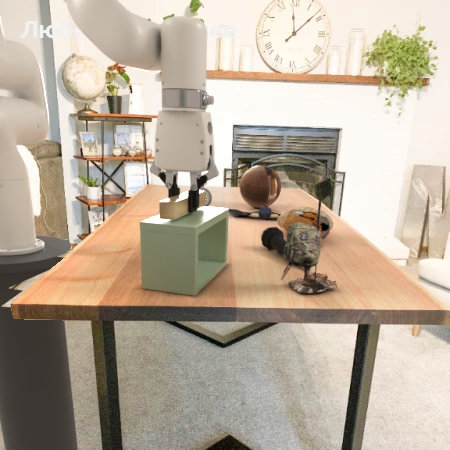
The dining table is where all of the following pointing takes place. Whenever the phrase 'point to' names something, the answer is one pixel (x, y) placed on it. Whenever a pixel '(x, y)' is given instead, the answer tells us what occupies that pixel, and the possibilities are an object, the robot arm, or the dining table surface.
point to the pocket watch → (209, 196)
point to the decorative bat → (263, 212)
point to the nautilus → (306, 219)
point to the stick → (177, 206)
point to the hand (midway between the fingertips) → (183, 209)
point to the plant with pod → (308, 248)
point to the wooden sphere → (260, 186)
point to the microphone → (274, 240)
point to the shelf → (184, 250)
